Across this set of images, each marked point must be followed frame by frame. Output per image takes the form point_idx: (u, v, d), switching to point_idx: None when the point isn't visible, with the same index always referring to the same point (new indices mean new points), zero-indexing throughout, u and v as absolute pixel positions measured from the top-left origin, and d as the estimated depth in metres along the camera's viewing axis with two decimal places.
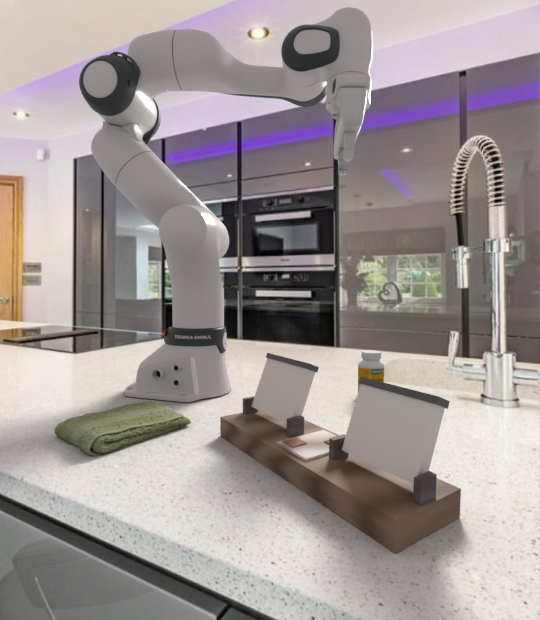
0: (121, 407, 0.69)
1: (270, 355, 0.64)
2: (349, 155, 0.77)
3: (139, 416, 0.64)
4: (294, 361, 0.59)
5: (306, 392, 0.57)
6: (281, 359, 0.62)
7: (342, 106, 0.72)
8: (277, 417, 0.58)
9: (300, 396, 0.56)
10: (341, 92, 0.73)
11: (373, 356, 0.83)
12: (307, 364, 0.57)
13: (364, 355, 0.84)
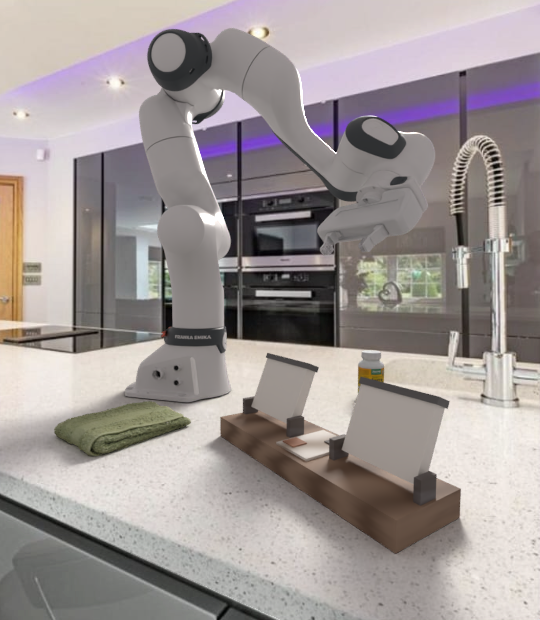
0: (121, 407, 0.69)
1: (270, 355, 0.64)
2: (368, 246, 0.66)
3: (139, 416, 0.64)
4: (294, 361, 0.59)
5: (306, 392, 0.57)
6: (281, 359, 0.62)
7: (406, 204, 0.64)
8: (277, 417, 0.58)
9: (300, 396, 0.56)
10: (410, 192, 0.65)
11: (373, 356, 0.83)
12: (307, 364, 0.57)
13: (364, 355, 0.84)
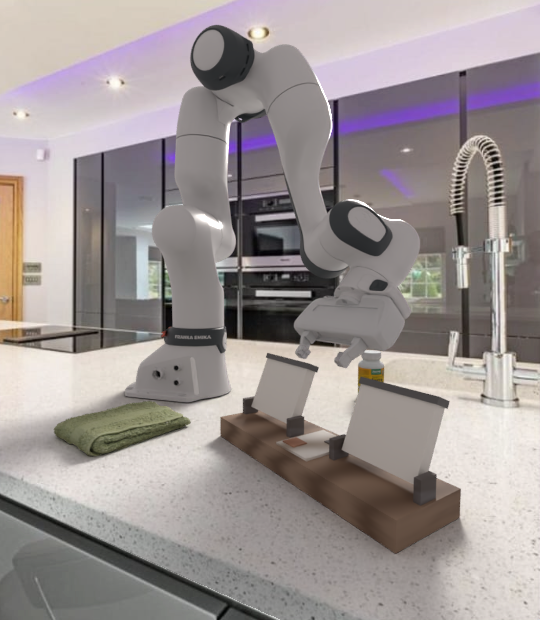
0: (121, 407, 0.69)
1: (270, 355, 0.64)
2: (345, 363, 0.60)
3: (139, 416, 0.64)
4: (294, 361, 0.59)
5: (306, 392, 0.57)
6: (281, 359, 0.62)
7: (385, 319, 0.58)
8: (277, 417, 0.58)
9: (300, 396, 0.56)
10: (391, 304, 0.59)
11: (373, 356, 0.83)
12: (307, 364, 0.57)
13: (364, 355, 0.84)
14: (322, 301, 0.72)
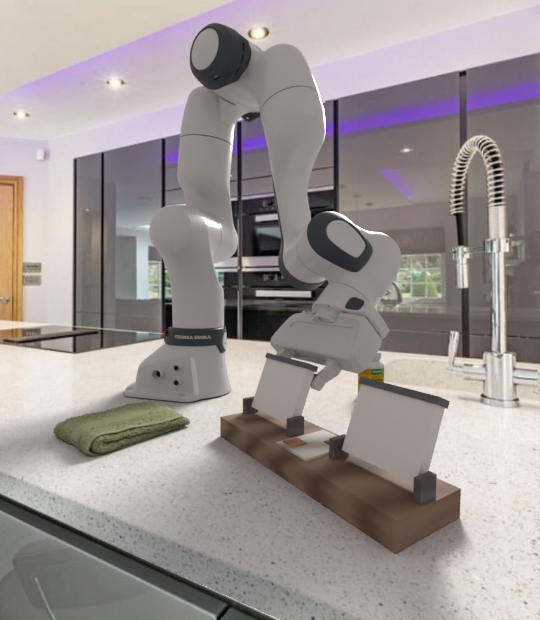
0: (120, 407, 0.69)
1: (269, 355, 0.64)
2: (319, 385, 0.57)
3: (138, 416, 0.64)
4: (293, 361, 0.59)
5: (306, 392, 0.57)
6: (281, 359, 0.62)
7: (360, 341, 0.56)
8: (277, 417, 0.58)
9: (300, 396, 0.56)
10: (366, 325, 0.57)
11: None
12: (306, 364, 0.57)
13: None
14: (299, 317, 0.70)
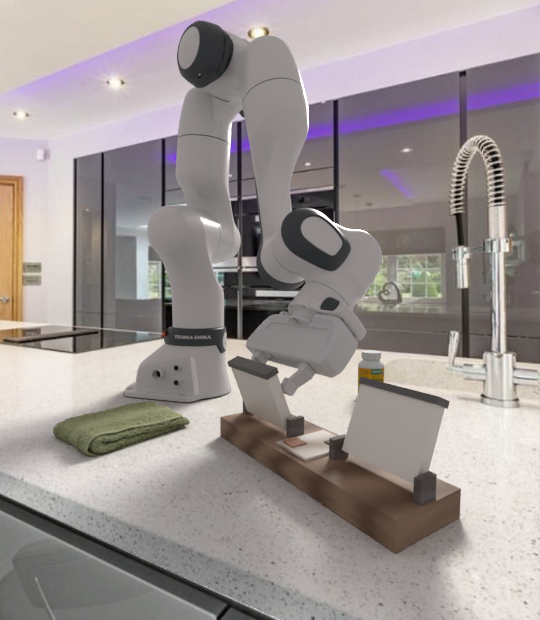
0: (120, 407, 0.69)
1: (231, 364, 0.60)
2: (290, 390, 0.55)
3: (138, 416, 0.64)
4: (253, 372, 0.55)
5: (281, 395, 0.54)
6: (242, 369, 0.58)
7: (333, 343, 0.53)
8: (272, 422, 0.57)
9: (278, 403, 0.54)
10: (340, 326, 0.54)
11: (373, 356, 0.83)
12: (264, 375, 0.53)
13: (364, 355, 0.84)
14: (276, 318, 0.67)
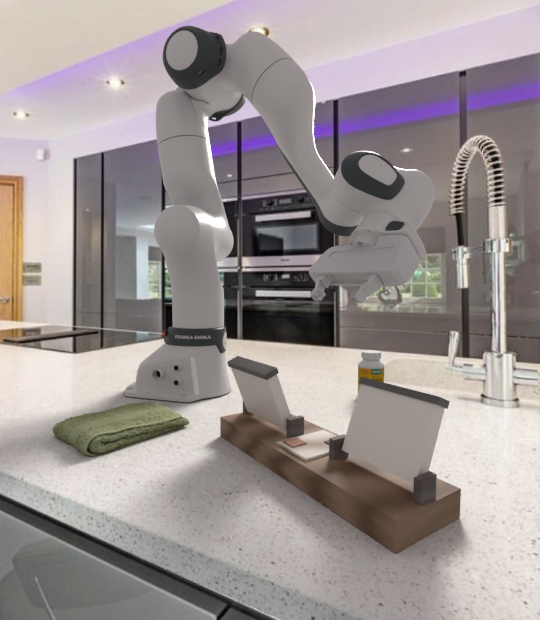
0: (120, 407, 0.69)
1: (231, 364, 0.60)
2: (361, 298, 0.61)
3: (137, 416, 0.64)
4: (252, 372, 0.55)
5: (281, 395, 0.54)
6: (241, 369, 0.58)
7: (402, 254, 0.59)
8: (272, 422, 0.57)
9: (278, 403, 0.54)
10: (407, 241, 0.61)
11: (373, 356, 0.83)
12: (264, 375, 0.53)
13: (364, 355, 0.84)
14: (337, 248, 0.74)
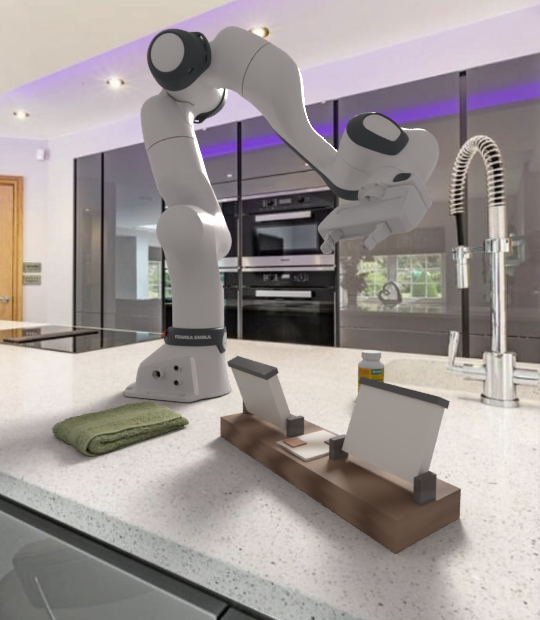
0: (120, 407, 0.69)
1: (231, 364, 0.60)
2: (370, 245, 0.64)
3: (137, 416, 0.63)
4: (252, 372, 0.55)
5: (281, 395, 0.54)
6: (241, 369, 0.58)
7: (409, 201, 0.62)
8: (272, 422, 0.57)
9: (278, 403, 0.54)
10: (414, 189, 0.63)
11: (374, 356, 0.83)
12: (264, 375, 0.53)
13: (364, 355, 0.84)
14: (345, 205, 0.76)
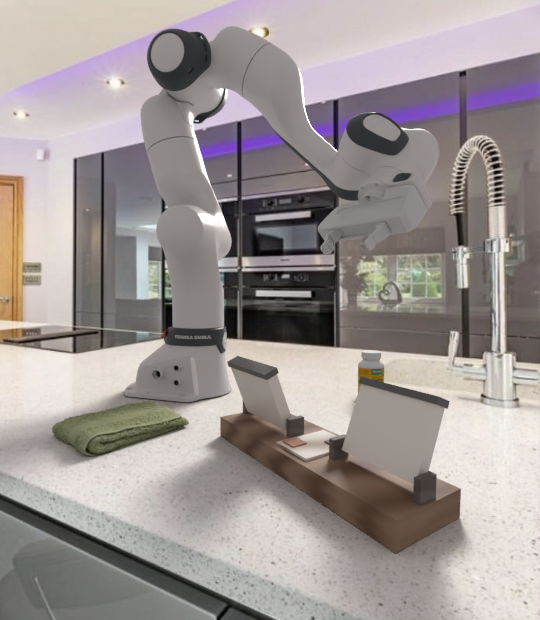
0: (120, 407, 0.69)
1: (231, 364, 0.60)
2: (370, 245, 0.64)
3: (136, 416, 0.63)
4: (252, 372, 0.55)
5: (281, 395, 0.54)
6: (241, 369, 0.58)
7: (409, 201, 0.62)
8: (272, 422, 0.57)
9: (278, 403, 0.54)
10: (414, 189, 0.63)
11: (374, 356, 0.83)
12: (264, 375, 0.53)
13: (364, 355, 0.84)
14: (345, 205, 0.76)
